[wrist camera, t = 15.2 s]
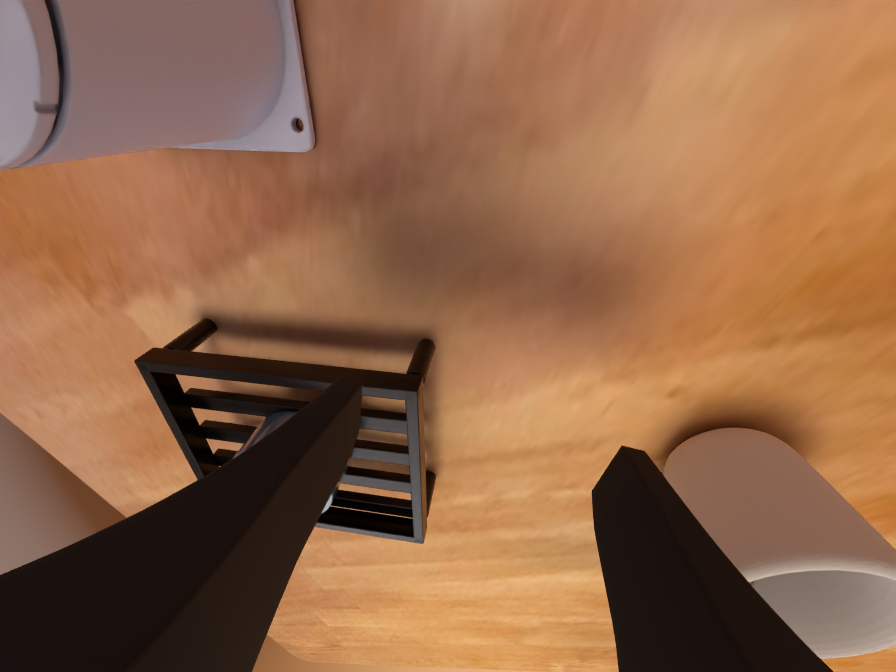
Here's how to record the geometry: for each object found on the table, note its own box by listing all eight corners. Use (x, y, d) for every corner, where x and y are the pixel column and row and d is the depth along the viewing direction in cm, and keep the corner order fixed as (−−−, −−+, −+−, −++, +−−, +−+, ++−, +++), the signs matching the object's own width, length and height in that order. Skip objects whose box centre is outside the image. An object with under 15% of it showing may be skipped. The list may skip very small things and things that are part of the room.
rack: (198, 315, 22) (133, 360, 18) (435, 337, 20) (417, 391, 16) (253, 456, 28) (214, 511, 25) (436, 481, 27) (423, 544, 23)
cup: (883, 462, 20) (1067, 642, 14) (761, 532, 24) (855, 694, 18) (711, 386, 19) (817, 539, 13) (616, 473, 24) (657, 621, 17)
